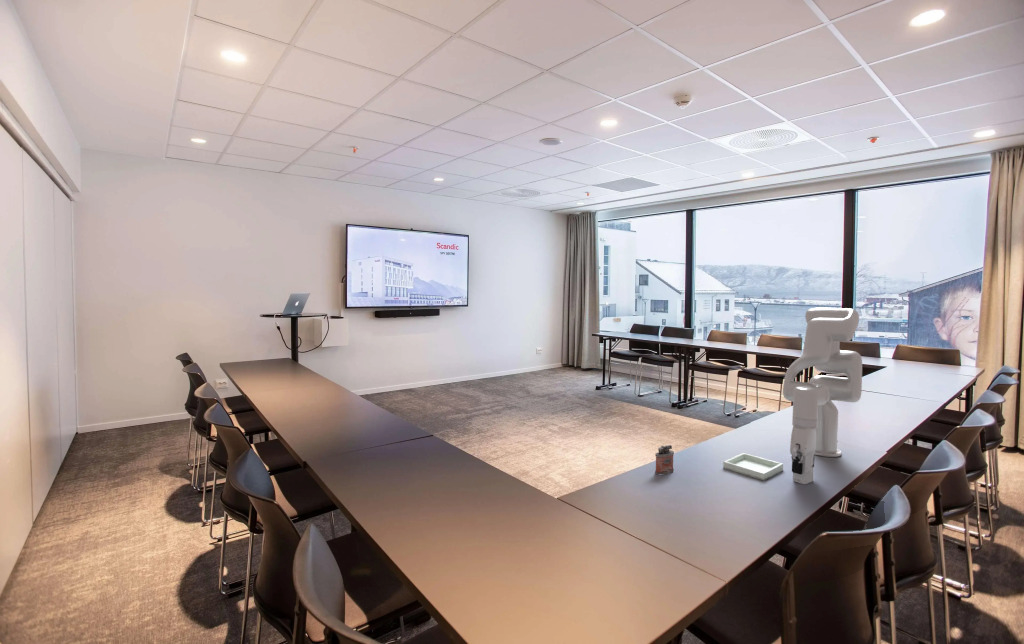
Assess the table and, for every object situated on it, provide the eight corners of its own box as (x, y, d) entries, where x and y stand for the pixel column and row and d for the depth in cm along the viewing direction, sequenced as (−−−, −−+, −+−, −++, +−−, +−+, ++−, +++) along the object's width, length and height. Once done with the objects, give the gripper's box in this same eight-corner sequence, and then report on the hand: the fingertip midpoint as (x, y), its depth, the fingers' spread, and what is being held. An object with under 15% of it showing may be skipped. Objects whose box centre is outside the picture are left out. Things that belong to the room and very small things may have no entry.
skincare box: (805, 485, 165) (806, 450, 164) (791, 480, 168) (792, 447, 168) (813, 480, 168) (815, 447, 167) (800, 476, 172) (801, 443, 171)
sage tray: (743, 458, 190) (743, 452, 189) (783, 470, 178) (783, 463, 178) (723, 468, 181) (723, 461, 180) (763, 480, 169) (764, 473, 169)
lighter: (659, 476, 174) (660, 449, 173) (653, 472, 177) (653, 446, 176) (675, 471, 178) (676, 445, 177) (668, 468, 181) (669, 442, 180)
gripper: (803, 415, 175) (802, 461, 176) (782, 424, 164) (780, 472, 166) (826, 420, 169) (824, 467, 170) (806, 429, 158) (804, 479, 160)
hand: (803, 469), depth 168 cm, fingers open, 9 cm apart
